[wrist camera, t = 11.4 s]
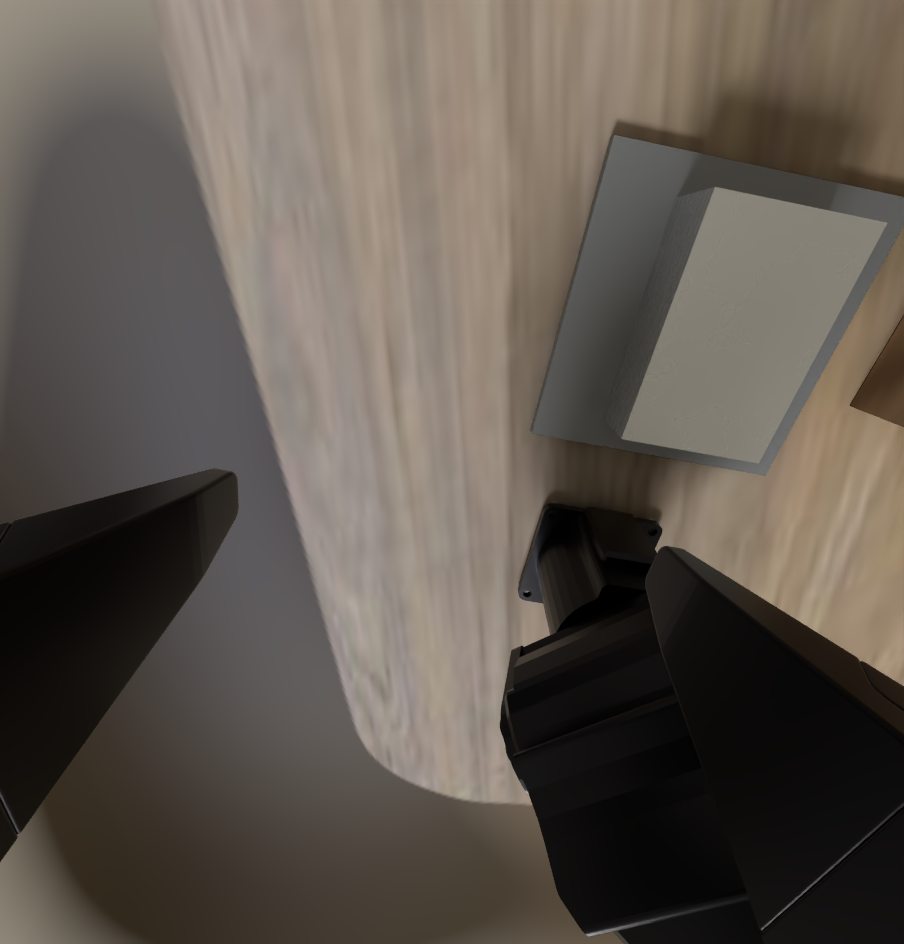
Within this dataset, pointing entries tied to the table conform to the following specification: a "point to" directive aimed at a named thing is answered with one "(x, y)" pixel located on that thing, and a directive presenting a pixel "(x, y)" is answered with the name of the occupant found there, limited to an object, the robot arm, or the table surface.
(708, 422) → the lever cap
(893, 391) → the plane body
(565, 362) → the rubber mat
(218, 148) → the table surface
